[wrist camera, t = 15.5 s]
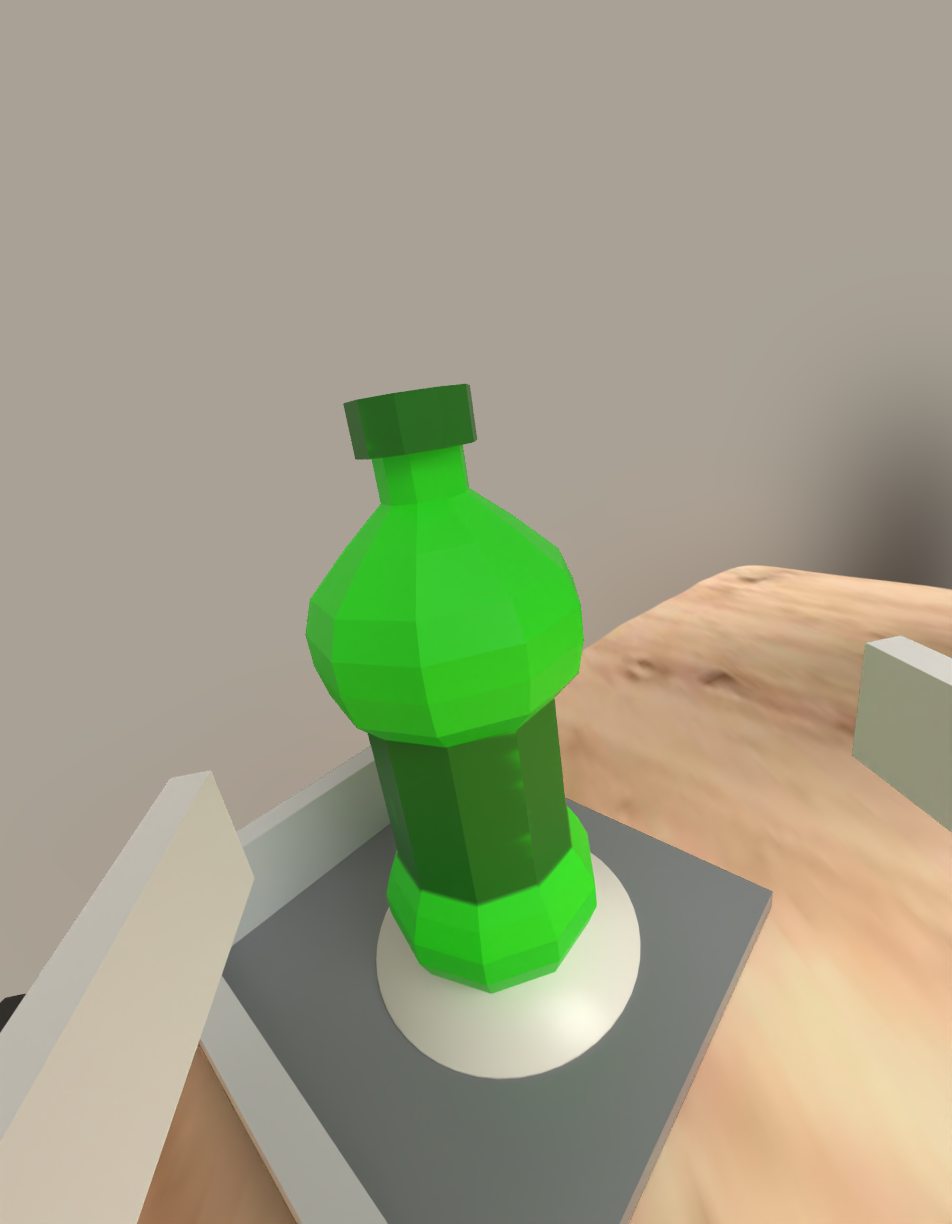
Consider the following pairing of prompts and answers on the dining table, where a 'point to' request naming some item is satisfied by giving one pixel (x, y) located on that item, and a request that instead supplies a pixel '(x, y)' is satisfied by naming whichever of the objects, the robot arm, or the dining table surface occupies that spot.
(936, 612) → the dining table surface
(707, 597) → the dining table surface
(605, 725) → the dining table surface
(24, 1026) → the robot arm
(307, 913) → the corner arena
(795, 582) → the dining table surface
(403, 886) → the plastic bottle
